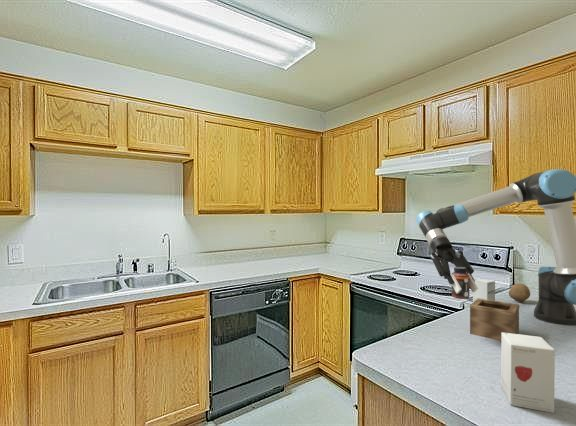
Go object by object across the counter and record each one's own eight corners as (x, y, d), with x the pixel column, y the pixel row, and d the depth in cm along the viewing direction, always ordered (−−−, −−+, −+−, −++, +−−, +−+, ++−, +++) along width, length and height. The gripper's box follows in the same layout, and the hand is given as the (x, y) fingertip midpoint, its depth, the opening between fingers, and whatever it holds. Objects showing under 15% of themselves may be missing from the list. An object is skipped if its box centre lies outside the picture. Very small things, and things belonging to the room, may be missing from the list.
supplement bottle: (472, 299, 117) (471, 268, 117) (454, 299, 118) (453, 268, 118) (466, 295, 123) (465, 266, 123) (449, 295, 124) (449, 265, 124)
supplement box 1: (487, 308, 158) (487, 282, 158) (472, 304, 164) (472, 279, 164) (495, 306, 161) (495, 280, 161) (480, 302, 168) (480, 278, 168)
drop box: (519, 332, 125) (518, 304, 125) (514, 343, 115) (514, 312, 115) (478, 324, 135) (478, 298, 135) (470, 333, 124) (470, 305, 124)
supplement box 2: (509, 406, 78) (509, 344, 78) (500, 387, 86) (500, 331, 86) (556, 414, 75) (555, 349, 75) (541, 394, 83) (541, 335, 83)
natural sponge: (533, 305, 162) (533, 285, 162) (512, 303, 165) (512, 284, 165) (527, 301, 170) (527, 282, 170) (507, 299, 174) (507, 281, 174)
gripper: (455, 247, 137) (485, 294, 121) (414, 248, 134) (439, 297, 118) (463, 235, 132) (496, 283, 116) (421, 236, 129) (448, 286, 113)
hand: (467, 290), depth 117 cm, fingers closed on supplement bottle, 6 cm apart
